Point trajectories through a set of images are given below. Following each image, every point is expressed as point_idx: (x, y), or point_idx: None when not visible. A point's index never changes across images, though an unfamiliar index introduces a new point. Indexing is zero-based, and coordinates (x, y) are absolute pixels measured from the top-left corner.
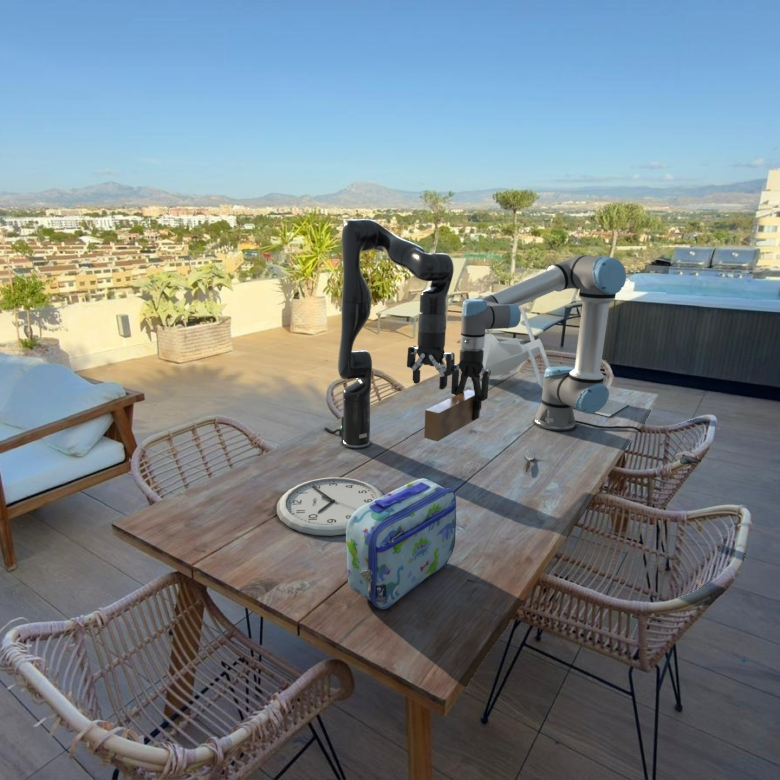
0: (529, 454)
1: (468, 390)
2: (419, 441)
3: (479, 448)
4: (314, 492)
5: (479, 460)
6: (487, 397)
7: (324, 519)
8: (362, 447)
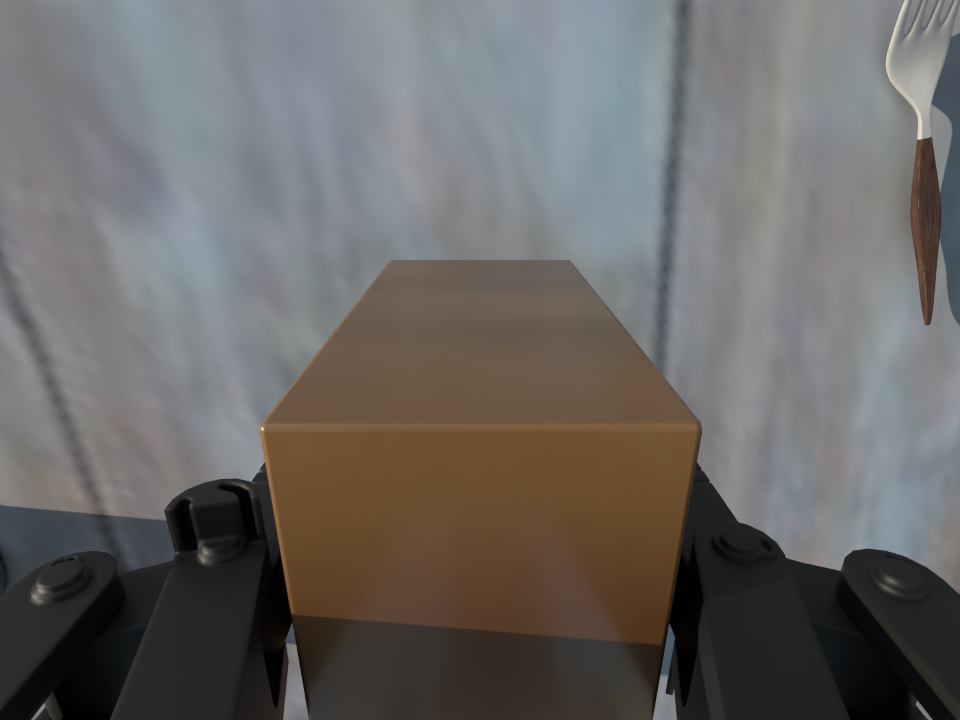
0: (918, 22)
1: (321, 510)
2: (124, 309)
3: (513, 133)
4: None
5: None
6: (948, 591)
7: None
8: (2, 588)
